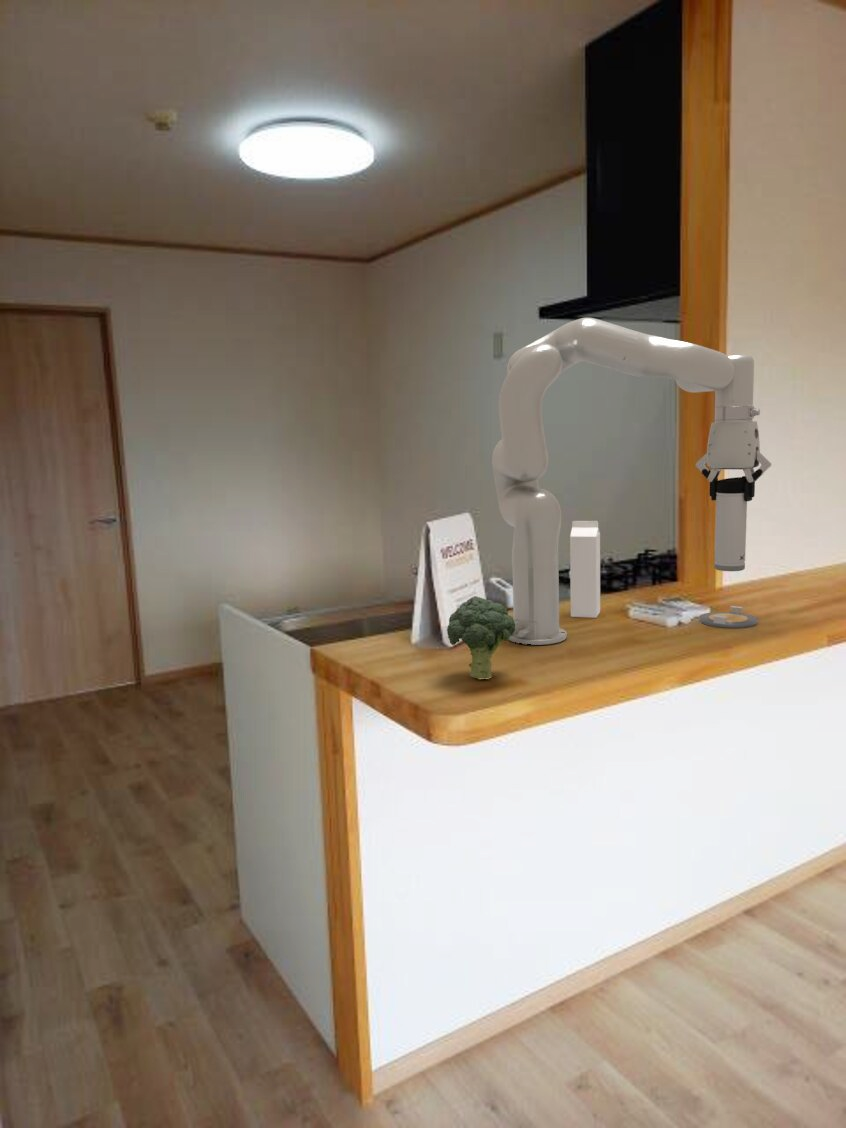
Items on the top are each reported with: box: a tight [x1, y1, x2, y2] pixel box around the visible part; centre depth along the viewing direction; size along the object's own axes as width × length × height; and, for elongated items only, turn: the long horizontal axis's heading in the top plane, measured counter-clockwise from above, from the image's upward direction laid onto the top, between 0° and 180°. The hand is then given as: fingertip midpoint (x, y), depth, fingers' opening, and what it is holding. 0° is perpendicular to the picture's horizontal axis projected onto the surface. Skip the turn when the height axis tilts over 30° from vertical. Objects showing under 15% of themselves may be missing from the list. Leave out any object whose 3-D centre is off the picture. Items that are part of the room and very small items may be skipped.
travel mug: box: [713, 475, 748, 572], centre depth 181 cm, size 6×7×20 cm
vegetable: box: [446, 595, 516, 679], centre depth 150 cm, size 12×13×15 cm
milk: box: [569, 520, 601, 619], centre depth 194 cm, size 6×6×22 cm
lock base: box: [699, 605, 759, 629], centre depth 184 cm, size 12×12×2 cm
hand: (731, 499), depth 180 cm, fingers closed on travel mug, 6 cm apart
